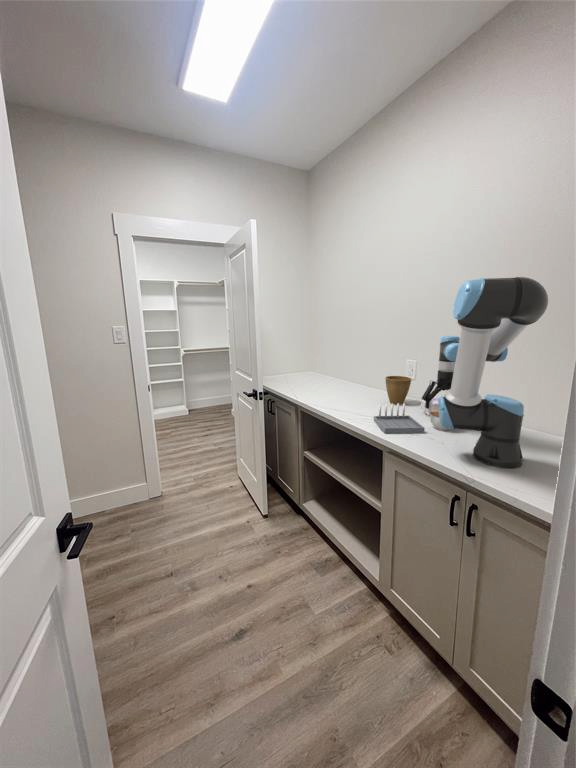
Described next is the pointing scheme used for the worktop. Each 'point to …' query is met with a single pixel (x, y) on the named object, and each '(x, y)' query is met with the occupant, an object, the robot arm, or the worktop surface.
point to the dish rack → (397, 422)
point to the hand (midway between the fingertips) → (442, 414)
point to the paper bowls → (433, 405)
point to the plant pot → (397, 388)
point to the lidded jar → (437, 420)
